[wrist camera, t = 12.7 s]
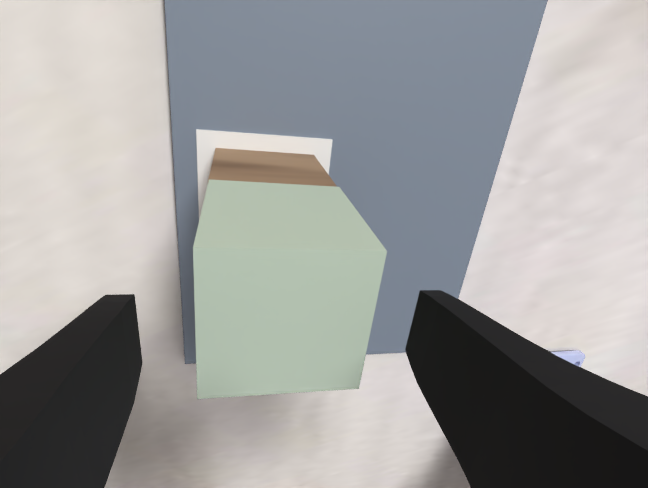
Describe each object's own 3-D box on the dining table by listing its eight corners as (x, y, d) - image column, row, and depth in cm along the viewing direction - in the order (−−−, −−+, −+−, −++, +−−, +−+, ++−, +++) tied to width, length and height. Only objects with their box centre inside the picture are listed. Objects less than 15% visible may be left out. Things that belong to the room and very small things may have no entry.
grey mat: (438, 344, 26) (443, 351, 25) (186, 356, 22) (184, 364, 22) (540, -7, 18) (551, -9, 17) (162, -75, 14) (159, -81, 13)
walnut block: (305, 240, 20) (324, 293, 16) (216, 238, 19) (209, 295, 15) (313, 154, 18) (338, 188, 14) (215, 147, 17) (207, 181, 13)
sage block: (324, 292, 15) (358, 388, 11) (209, 293, 14) (197, 399, 10) (339, 187, 14) (387, 251, 9) (208, 179, 13) (193, 247, 8)
